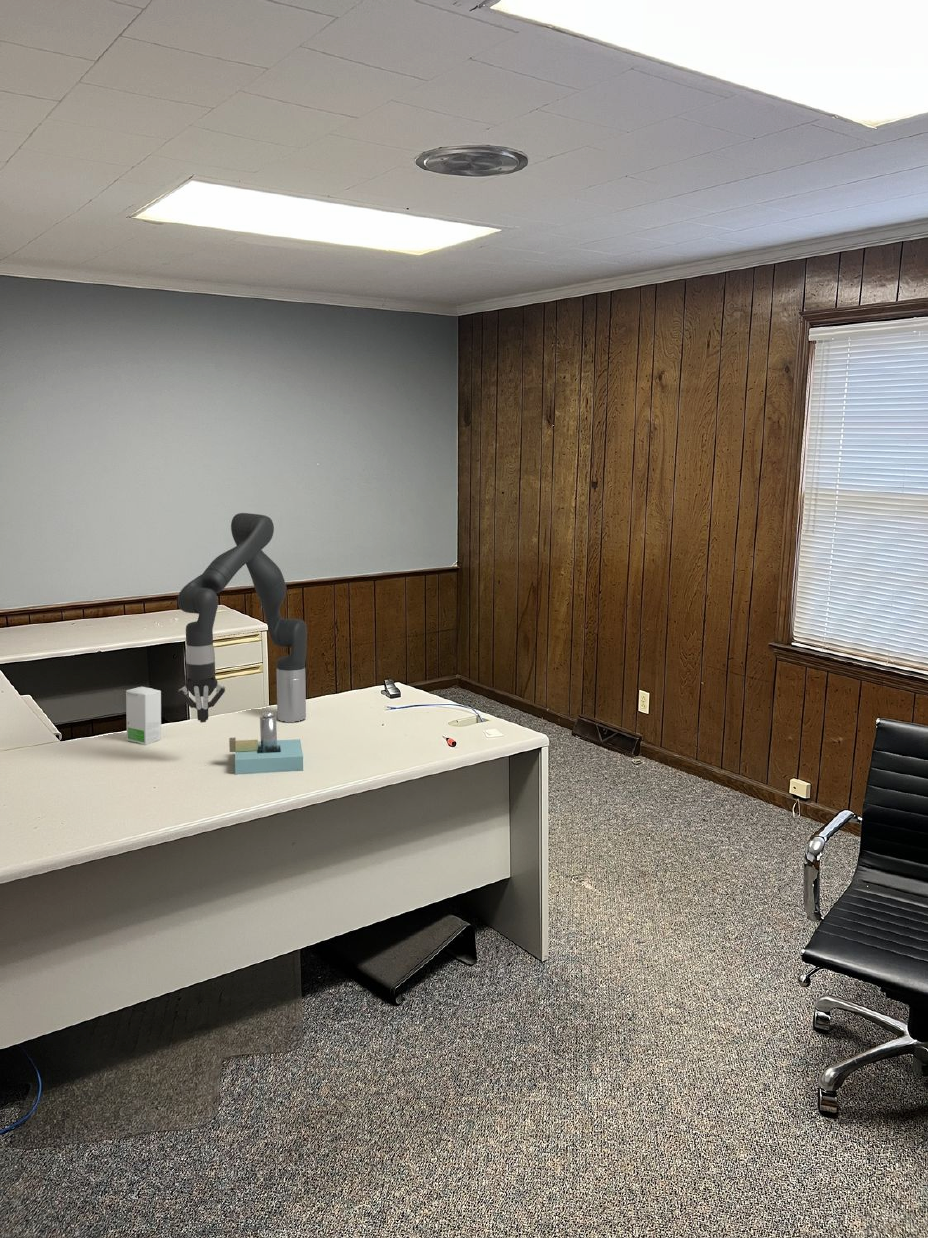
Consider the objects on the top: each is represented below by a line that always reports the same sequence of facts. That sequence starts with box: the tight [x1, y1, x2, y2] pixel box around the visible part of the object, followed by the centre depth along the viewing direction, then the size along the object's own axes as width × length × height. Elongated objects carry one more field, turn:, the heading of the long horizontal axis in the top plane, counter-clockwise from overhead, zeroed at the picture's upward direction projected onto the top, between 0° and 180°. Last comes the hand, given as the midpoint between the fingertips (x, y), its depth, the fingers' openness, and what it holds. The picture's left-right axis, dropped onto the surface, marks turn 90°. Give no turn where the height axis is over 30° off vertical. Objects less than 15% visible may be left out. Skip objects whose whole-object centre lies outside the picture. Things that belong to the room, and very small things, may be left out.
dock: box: [234, 738, 304, 775], centre depth 253 cm, size 16×18×4 cm
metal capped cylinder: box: [259, 711, 278, 753], centre depth 252 cm, size 4×4×13 cm
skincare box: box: [125, 686, 162, 746], centre depth 271 cm, size 8×7×16 cm
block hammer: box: [228, 737, 259, 753], centre depth 251 cm, size 3×8×3 cm, turn 103°
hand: (203, 721), depth 249 cm, fingers closed
